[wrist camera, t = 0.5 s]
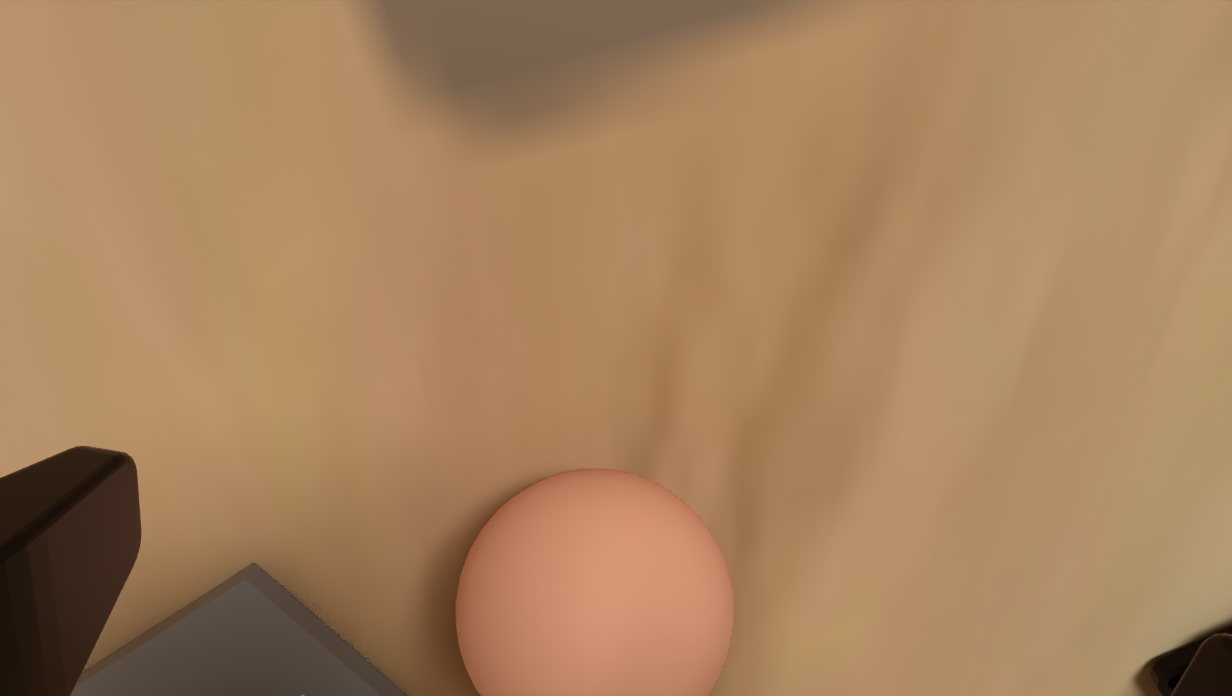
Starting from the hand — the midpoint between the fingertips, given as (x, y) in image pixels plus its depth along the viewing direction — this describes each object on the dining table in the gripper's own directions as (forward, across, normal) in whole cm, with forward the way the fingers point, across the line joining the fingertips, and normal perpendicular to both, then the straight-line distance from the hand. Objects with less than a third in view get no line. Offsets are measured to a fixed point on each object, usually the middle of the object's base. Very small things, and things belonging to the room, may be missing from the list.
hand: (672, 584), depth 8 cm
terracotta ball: (+10, 0, +10) cm, 14 cm away
